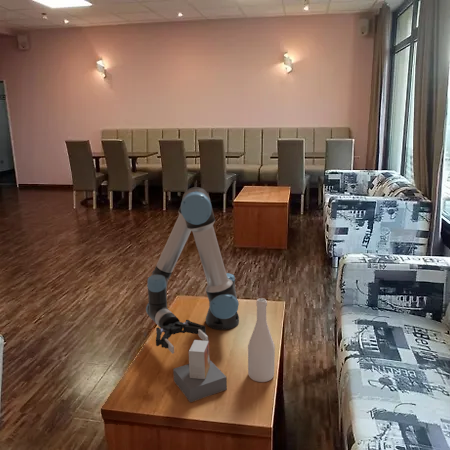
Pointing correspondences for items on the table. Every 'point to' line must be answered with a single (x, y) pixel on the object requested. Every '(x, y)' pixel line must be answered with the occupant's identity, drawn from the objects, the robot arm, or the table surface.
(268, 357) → the wine bottle
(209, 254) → the robot arm
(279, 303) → the table surface
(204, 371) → the small box
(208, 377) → the plinth
